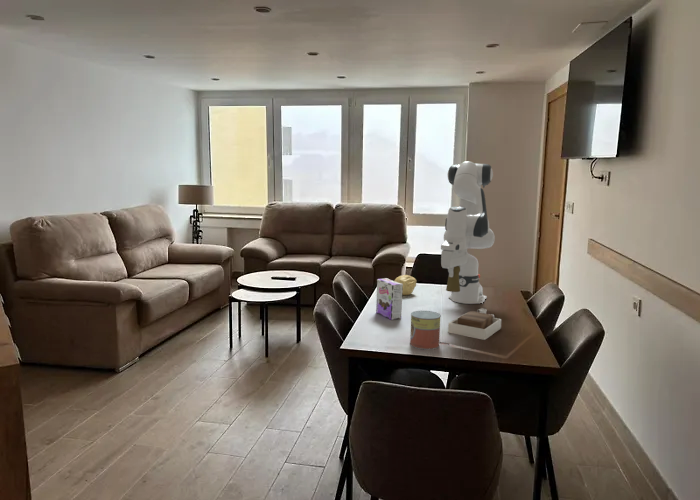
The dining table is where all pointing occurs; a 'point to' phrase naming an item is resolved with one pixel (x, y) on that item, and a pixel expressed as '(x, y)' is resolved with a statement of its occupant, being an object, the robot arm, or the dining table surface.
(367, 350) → the dining table surface
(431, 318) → the canned food
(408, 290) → the beige rounded lump
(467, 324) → the walnut block
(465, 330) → the tote
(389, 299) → the candy box
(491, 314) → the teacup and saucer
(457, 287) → the olive waisted cylinder
